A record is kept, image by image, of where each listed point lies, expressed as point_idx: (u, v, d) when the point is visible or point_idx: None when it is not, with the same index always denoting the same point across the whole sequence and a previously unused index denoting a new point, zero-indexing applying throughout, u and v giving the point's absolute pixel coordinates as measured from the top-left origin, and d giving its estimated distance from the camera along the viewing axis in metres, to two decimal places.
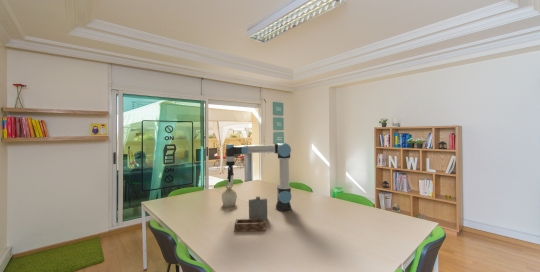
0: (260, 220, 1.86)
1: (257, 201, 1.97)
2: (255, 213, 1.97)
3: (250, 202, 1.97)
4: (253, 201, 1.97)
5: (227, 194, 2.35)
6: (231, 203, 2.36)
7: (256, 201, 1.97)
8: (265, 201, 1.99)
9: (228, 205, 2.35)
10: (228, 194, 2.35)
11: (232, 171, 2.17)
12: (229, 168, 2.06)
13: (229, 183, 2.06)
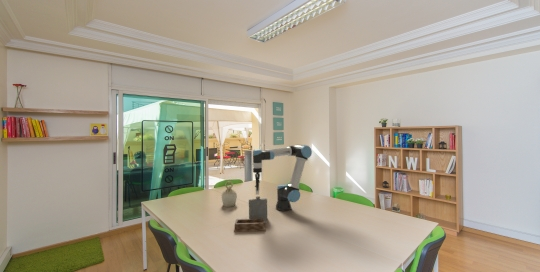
0: (260, 220, 1.86)
1: (257, 201, 1.97)
2: (255, 213, 1.97)
3: (250, 202, 1.97)
4: (253, 201, 1.97)
5: (227, 194, 2.35)
6: (231, 203, 2.36)
7: (256, 201, 1.97)
8: (265, 201, 1.99)
9: (228, 205, 2.35)
10: (228, 194, 2.35)
11: None
12: (257, 175, 1.92)
13: (257, 191, 1.92)
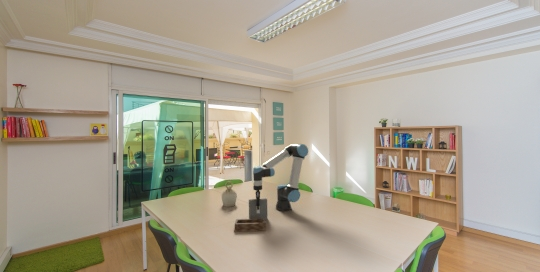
0: (260, 220, 1.86)
1: None
2: (255, 213, 1.97)
3: (250, 202, 1.97)
4: (253, 201, 1.97)
5: (227, 194, 2.35)
6: (231, 203, 2.36)
7: None
8: (265, 201, 1.99)
9: (228, 205, 2.35)
10: (228, 194, 2.35)
11: None
12: (257, 195, 1.93)
13: (258, 210, 1.96)
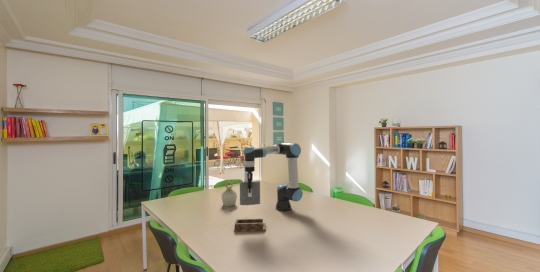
0: (260, 220, 1.86)
1: None
2: (247, 197, 1.81)
3: (241, 184, 1.81)
4: (244, 183, 1.81)
5: (227, 194, 2.35)
6: (231, 203, 2.36)
7: None
8: (258, 184, 1.83)
9: (228, 205, 2.35)
10: (228, 194, 2.35)
11: None
12: (249, 177, 1.77)
13: (249, 194, 1.80)
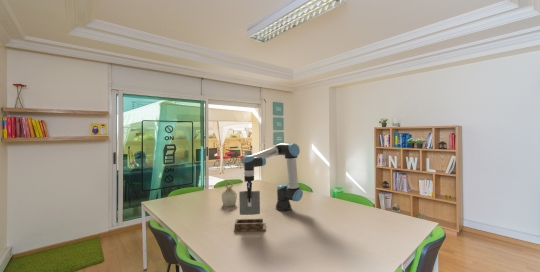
0: (260, 220, 1.86)
1: None
2: (246, 206, 1.80)
3: (240, 194, 1.80)
4: (244, 193, 1.80)
5: (227, 194, 2.35)
6: (231, 203, 2.36)
7: (247, 193, 1.80)
8: (257, 194, 1.81)
9: (228, 205, 2.35)
10: (228, 194, 2.35)
11: None
12: (249, 187, 1.75)
13: (249, 203, 1.79)
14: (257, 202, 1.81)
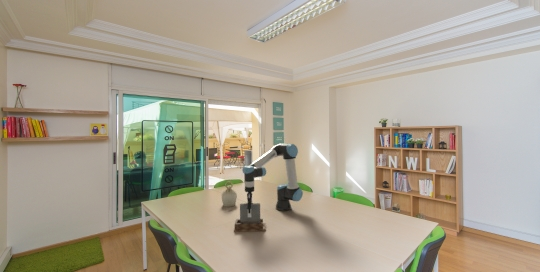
0: (260, 220, 1.86)
1: None
2: (246, 219, 1.80)
3: (241, 206, 1.81)
4: (244, 205, 1.80)
5: (227, 194, 2.35)
6: (231, 203, 2.36)
7: (247, 206, 1.80)
8: (258, 206, 1.81)
9: (228, 205, 2.35)
10: (228, 194, 2.35)
11: None
12: (249, 197, 1.75)
13: (249, 214, 1.77)
14: (257, 214, 1.81)
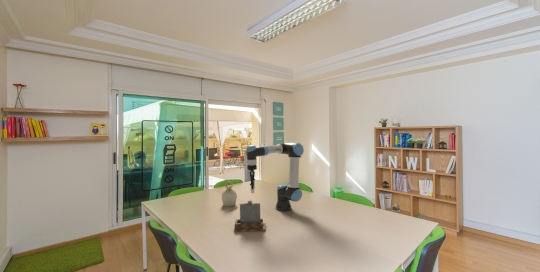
0: (260, 220, 1.86)
1: (248, 206, 1.80)
2: (246, 219, 1.80)
3: (241, 206, 1.81)
4: (244, 206, 1.80)
5: (227, 194, 2.35)
6: (231, 203, 2.36)
7: (247, 206, 1.80)
8: (257, 206, 1.81)
9: (228, 205, 2.35)
10: (228, 194, 2.35)
11: None
12: (252, 173, 1.81)
13: (252, 190, 1.81)
14: (257, 214, 1.81)
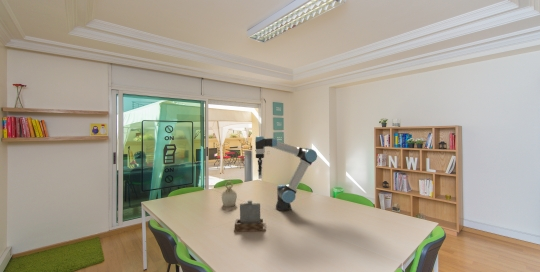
0: (260, 220, 1.86)
1: (248, 206, 1.80)
2: (246, 219, 1.80)
3: (241, 206, 1.81)
4: (244, 206, 1.80)
5: (227, 194, 2.35)
6: (231, 203, 2.36)
7: (247, 206, 1.80)
8: (257, 206, 1.81)
9: (228, 205, 2.35)
10: (228, 194, 2.35)
11: None
12: (259, 160, 2.02)
13: (259, 176, 2.02)
14: (257, 214, 1.81)
